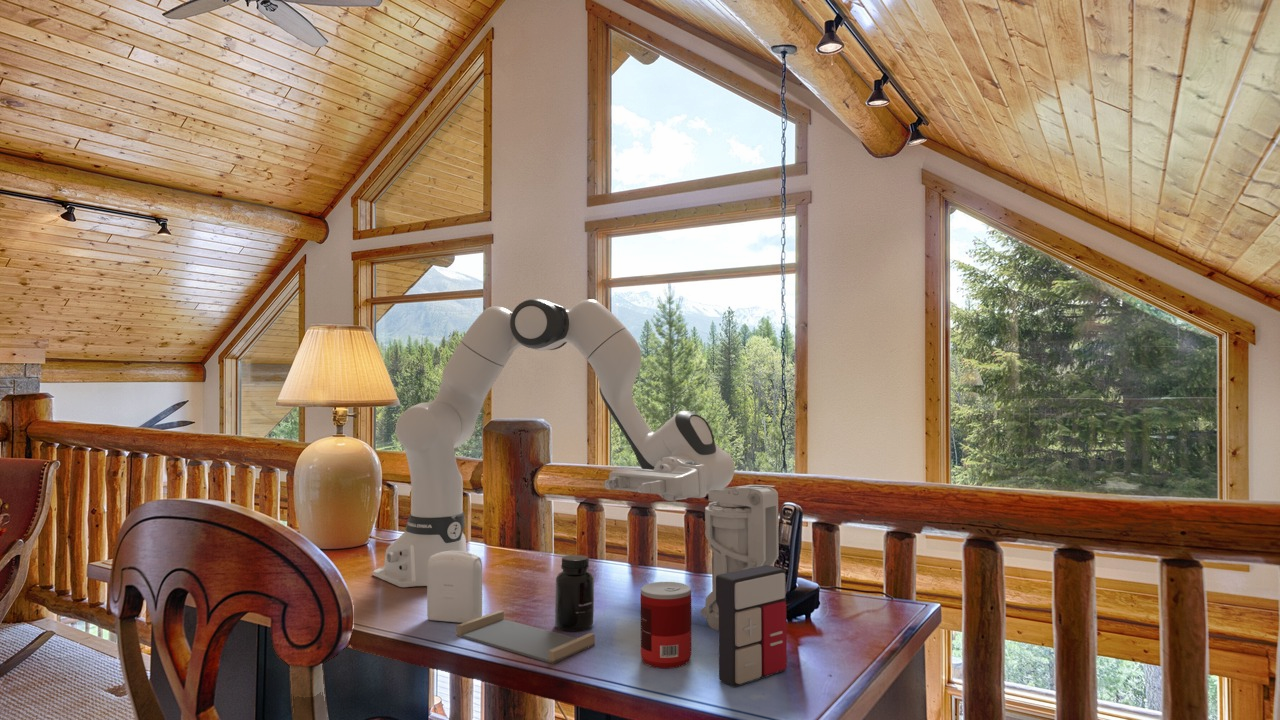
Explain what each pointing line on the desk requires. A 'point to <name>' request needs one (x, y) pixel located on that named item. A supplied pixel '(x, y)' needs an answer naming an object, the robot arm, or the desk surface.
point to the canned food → (666, 624)
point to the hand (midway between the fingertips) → (623, 486)
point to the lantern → (740, 534)
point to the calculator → (751, 624)
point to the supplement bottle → (574, 594)
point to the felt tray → (523, 638)
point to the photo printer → (454, 587)
